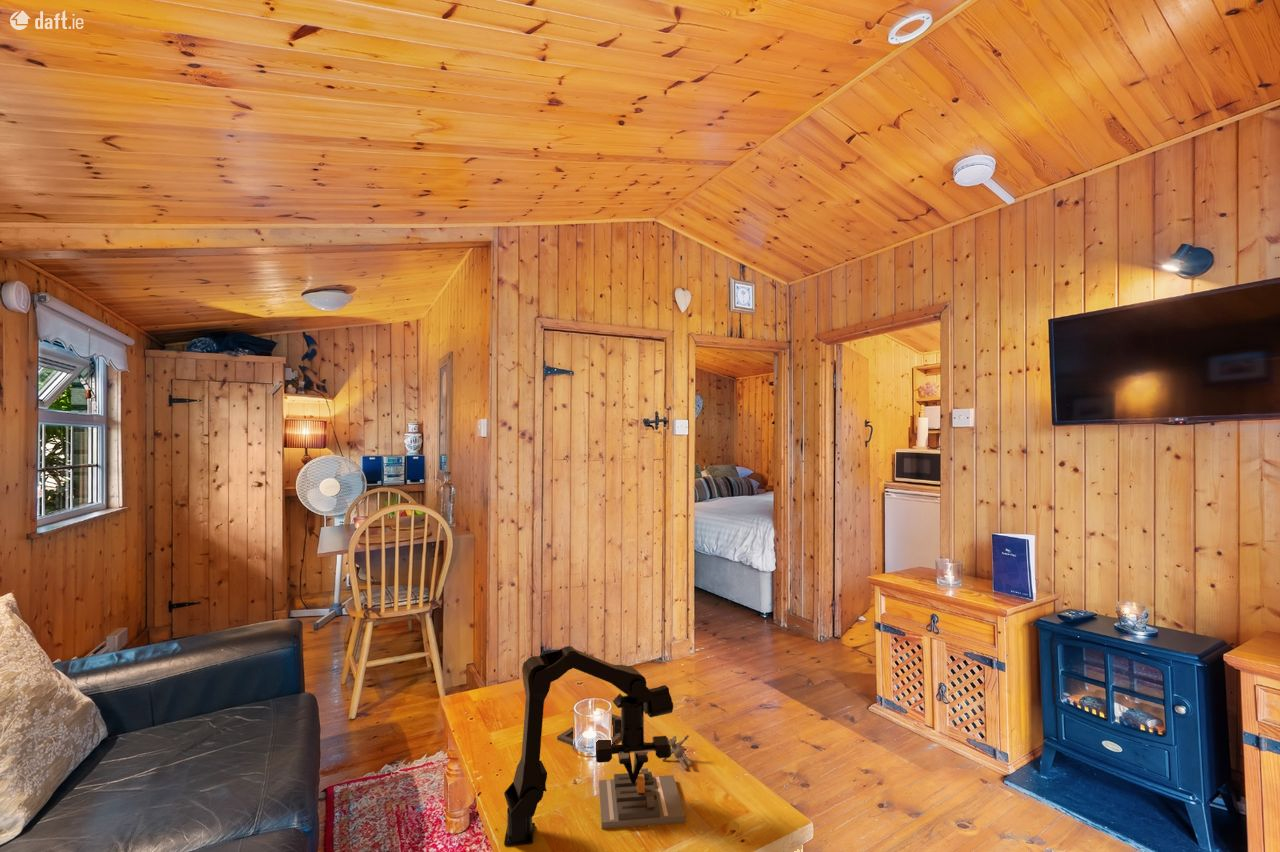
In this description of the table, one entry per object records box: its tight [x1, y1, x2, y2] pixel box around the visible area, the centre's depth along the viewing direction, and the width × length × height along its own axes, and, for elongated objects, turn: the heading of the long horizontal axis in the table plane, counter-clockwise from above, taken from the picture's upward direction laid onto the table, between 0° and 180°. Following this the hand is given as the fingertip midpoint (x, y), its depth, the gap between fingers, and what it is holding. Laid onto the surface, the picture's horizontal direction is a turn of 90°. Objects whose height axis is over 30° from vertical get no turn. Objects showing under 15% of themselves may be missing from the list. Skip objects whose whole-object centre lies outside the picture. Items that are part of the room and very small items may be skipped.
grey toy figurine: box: [662, 734, 692, 771], centre depth 164 cm, size 10×6×9 cm
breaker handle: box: [637, 774, 645, 793], centre depth 146 cm, size 2×2×3 cm
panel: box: [598, 767, 686, 830], centre depth 146 cm, size 17×20×4 cm
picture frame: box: [556, 713, 621, 747], centre depth 181 cm, size 16×2×21 cm
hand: (633, 782), depth 146 cm, fingers closed
